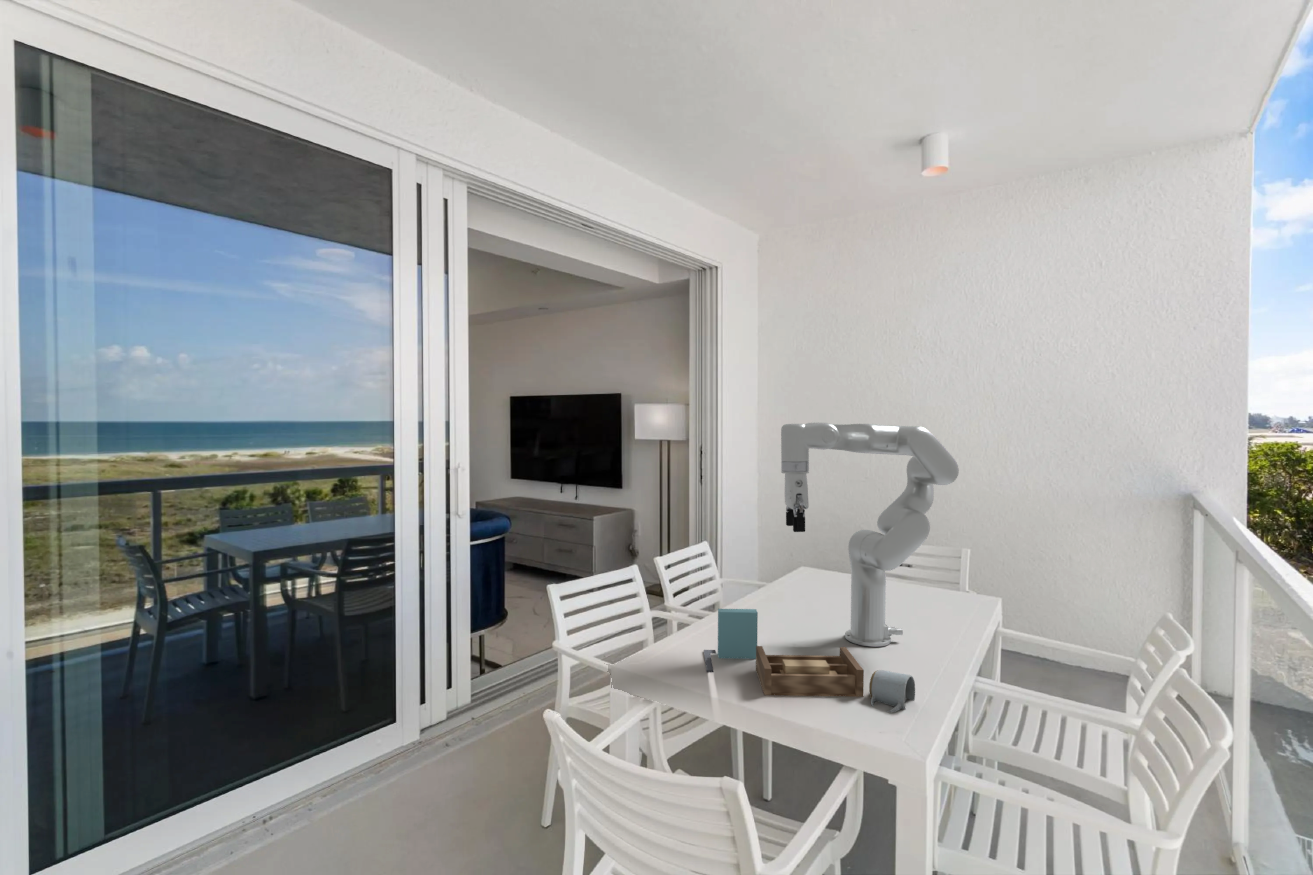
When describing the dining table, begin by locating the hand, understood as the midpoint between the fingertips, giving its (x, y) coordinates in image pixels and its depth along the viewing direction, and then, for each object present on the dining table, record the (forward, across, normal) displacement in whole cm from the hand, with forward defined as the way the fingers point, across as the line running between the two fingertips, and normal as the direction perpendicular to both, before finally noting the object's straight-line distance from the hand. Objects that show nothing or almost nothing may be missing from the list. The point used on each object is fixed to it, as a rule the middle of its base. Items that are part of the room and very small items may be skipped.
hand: (795, 528), depth 173 cm
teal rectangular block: (+32, -13, +18) cm, 39 cm away
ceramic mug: (+33, -38, -13) cm, 52 cm away
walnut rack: (+33, -29, +4) cm, 44 cm away
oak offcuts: (+31, -31, +4) cm, 44 cm away
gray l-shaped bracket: (+33, -13, +18) cm, 40 cm away
